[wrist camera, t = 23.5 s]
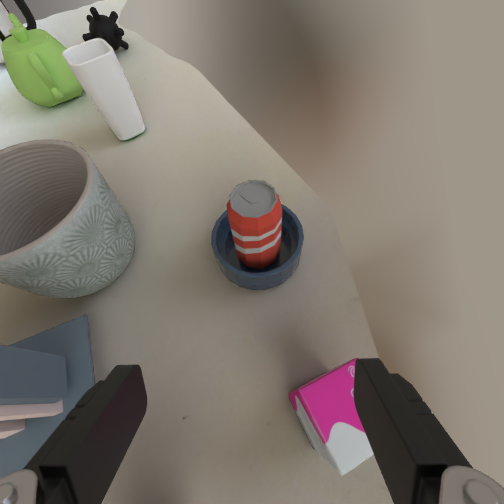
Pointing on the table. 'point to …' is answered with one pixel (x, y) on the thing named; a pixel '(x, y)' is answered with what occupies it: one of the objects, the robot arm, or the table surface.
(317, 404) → the supplement box
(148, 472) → the table surface
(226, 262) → the bowl
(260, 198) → the beverage can
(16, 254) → the planter
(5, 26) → the coffee press
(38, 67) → the teapot
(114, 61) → the cup
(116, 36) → the toy ball
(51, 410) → the desk lamp
